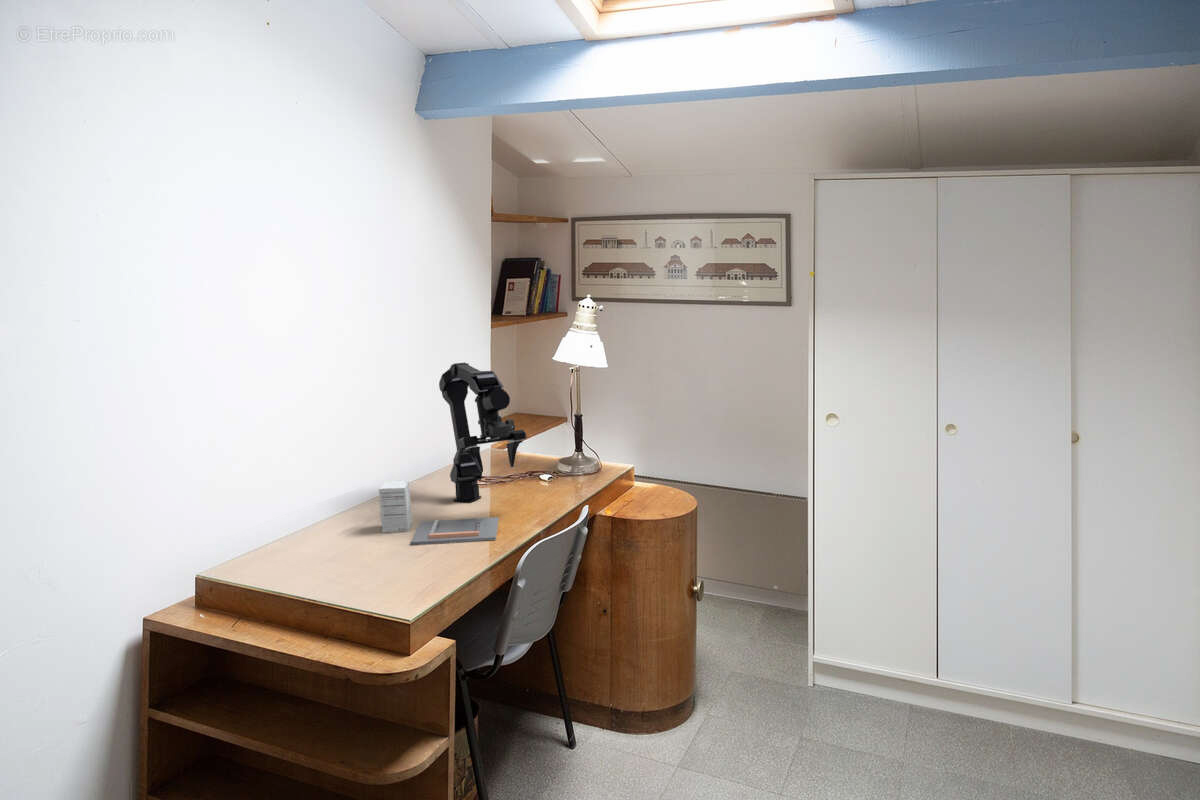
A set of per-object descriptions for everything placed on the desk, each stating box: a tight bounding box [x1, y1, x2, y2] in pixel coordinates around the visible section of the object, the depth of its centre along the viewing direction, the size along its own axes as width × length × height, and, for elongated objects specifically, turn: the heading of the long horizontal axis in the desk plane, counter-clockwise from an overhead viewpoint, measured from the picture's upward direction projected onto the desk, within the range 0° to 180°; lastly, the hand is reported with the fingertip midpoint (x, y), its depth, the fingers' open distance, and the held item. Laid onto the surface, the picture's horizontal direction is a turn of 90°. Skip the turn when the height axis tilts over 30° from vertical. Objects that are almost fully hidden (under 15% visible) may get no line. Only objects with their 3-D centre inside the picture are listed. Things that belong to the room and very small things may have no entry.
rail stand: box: [410, 516, 500, 546], centre depth 216 cm, size 18×22×2 cm
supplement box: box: [378, 480, 413, 533], centre depth 220 cm, size 7×7×13 cm
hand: (497, 469), depth 224 cm, fingers open, 9 cm apart
